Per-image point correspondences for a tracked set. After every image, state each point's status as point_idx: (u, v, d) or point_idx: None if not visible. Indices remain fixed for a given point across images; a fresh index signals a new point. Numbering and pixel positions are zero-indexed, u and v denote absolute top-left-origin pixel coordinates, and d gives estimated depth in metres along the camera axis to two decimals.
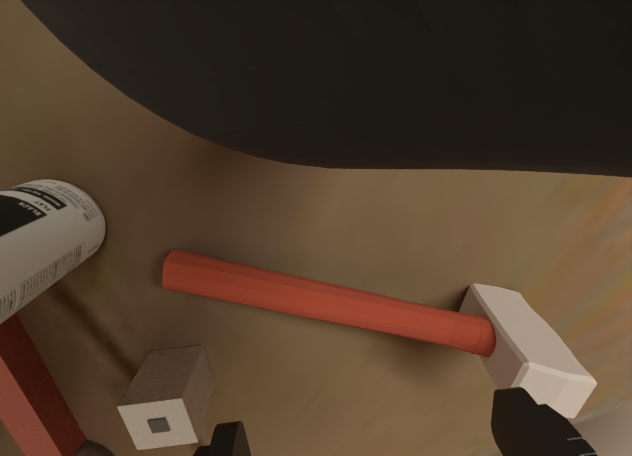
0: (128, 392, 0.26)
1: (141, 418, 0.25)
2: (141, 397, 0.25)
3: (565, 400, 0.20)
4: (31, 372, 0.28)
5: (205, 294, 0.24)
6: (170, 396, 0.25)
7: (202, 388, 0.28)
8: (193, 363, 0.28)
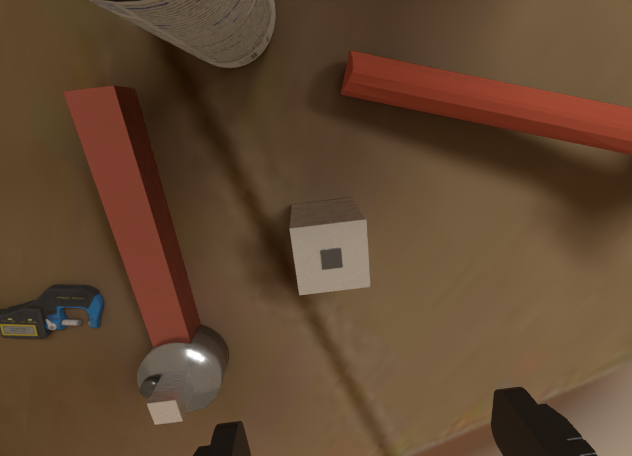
0: (294, 222, 0.22)
1: (313, 247, 0.21)
2: (314, 222, 0.21)
3: None
4: (163, 218, 0.25)
5: (401, 88, 0.20)
6: (350, 219, 0.21)
7: None
8: (354, 204, 0.24)
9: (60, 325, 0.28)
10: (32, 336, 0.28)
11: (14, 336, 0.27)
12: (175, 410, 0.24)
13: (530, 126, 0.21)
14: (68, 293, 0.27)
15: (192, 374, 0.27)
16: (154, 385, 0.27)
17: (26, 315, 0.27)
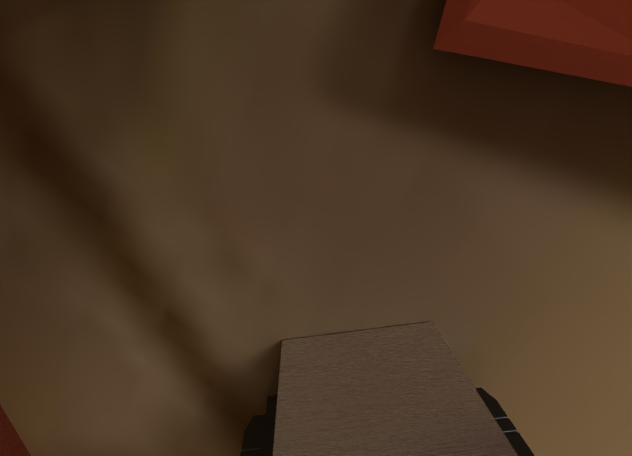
0: None
1: None
2: None
3: None
4: None
5: None
6: None
7: None
8: (457, 374, 0.08)
9: None
10: None
11: None
12: None
13: None
14: None
15: None
16: None
17: None
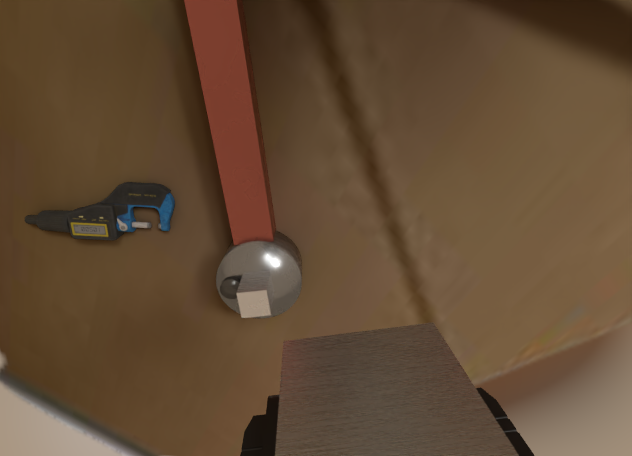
0: None
1: None
2: None
3: None
4: (254, 100, 0.23)
5: None
6: None
7: None
8: (459, 375, 0.08)
9: (131, 226, 0.27)
10: (103, 237, 0.27)
11: (84, 236, 0.26)
12: (264, 302, 0.23)
13: None
14: (140, 189, 0.26)
15: (273, 275, 0.26)
16: (235, 283, 0.26)
17: (98, 212, 0.26)
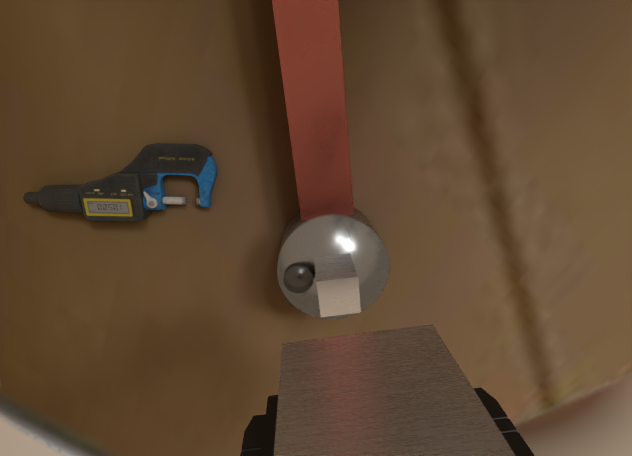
0: None
1: None
2: None
3: None
4: None
5: None
6: None
7: None
8: (458, 377, 0.08)
9: (161, 202, 0.20)
10: (125, 217, 0.20)
11: (102, 217, 0.20)
12: (354, 294, 0.17)
13: None
14: (174, 151, 0.19)
15: (353, 260, 0.20)
16: (305, 272, 0.19)
17: (119, 183, 0.19)
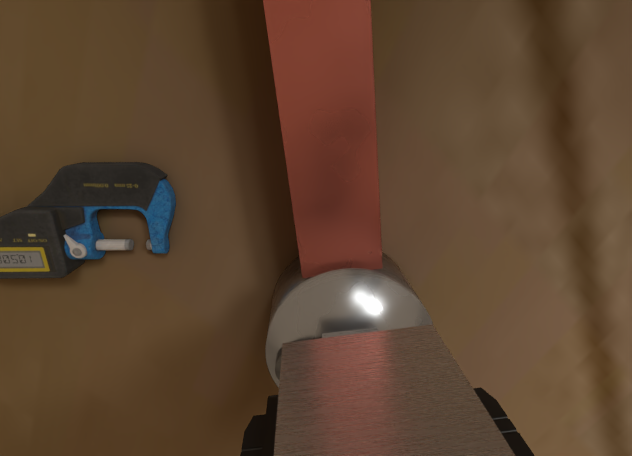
0: None
1: None
2: None
3: None
4: None
5: None
6: None
7: None
8: (457, 377, 0.08)
9: (94, 249, 0.14)
10: (39, 272, 0.14)
11: (3, 274, 0.13)
12: None
13: None
14: (106, 174, 0.13)
15: None
16: None
17: (24, 225, 0.13)
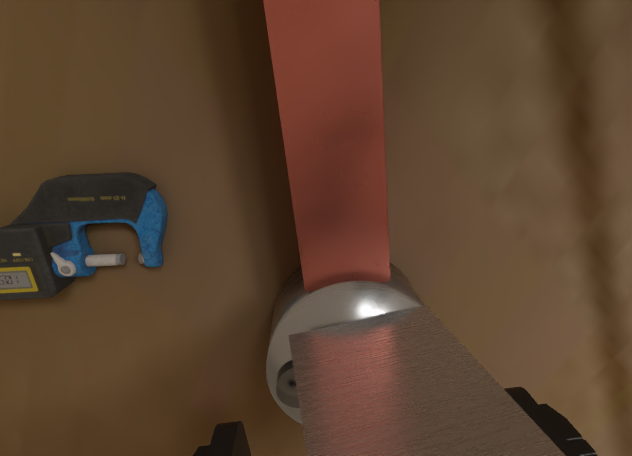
0: None
1: None
2: None
3: None
4: None
5: None
6: None
7: None
8: (457, 348, 0.09)
9: (84, 266, 0.13)
10: (27, 293, 0.13)
11: None
12: None
13: None
14: (91, 187, 0.12)
15: None
16: None
17: (7, 244, 0.12)
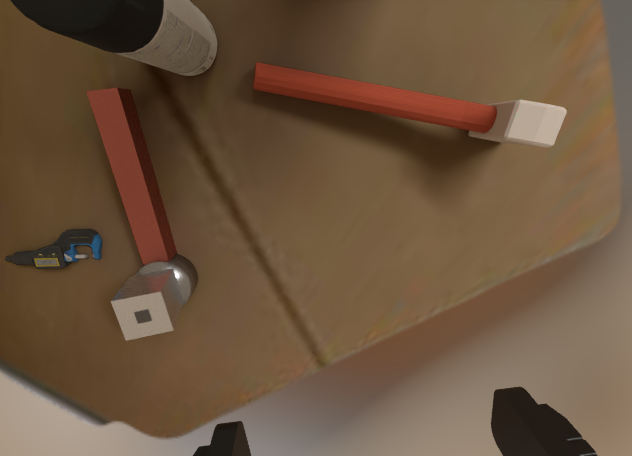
0: (118, 294, 0.34)
1: (129, 311, 0.34)
2: (129, 295, 0.34)
3: (546, 127, 0.29)
4: (149, 175, 0.37)
5: (286, 84, 0.33)
6: (152, 292, 0.34)
7: (174, 297, 0.38)
8: (166, 276, 0.37)
9: (74, 258, 0.41)
10: (56, 266, 0.41)
11: (44, 267, 0.41)
12: None
13: (369, 107, 0.33)
14: (77, 234, 0.40)
15: None
16: None
17: (51, 251, 0.40)
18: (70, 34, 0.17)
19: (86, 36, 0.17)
